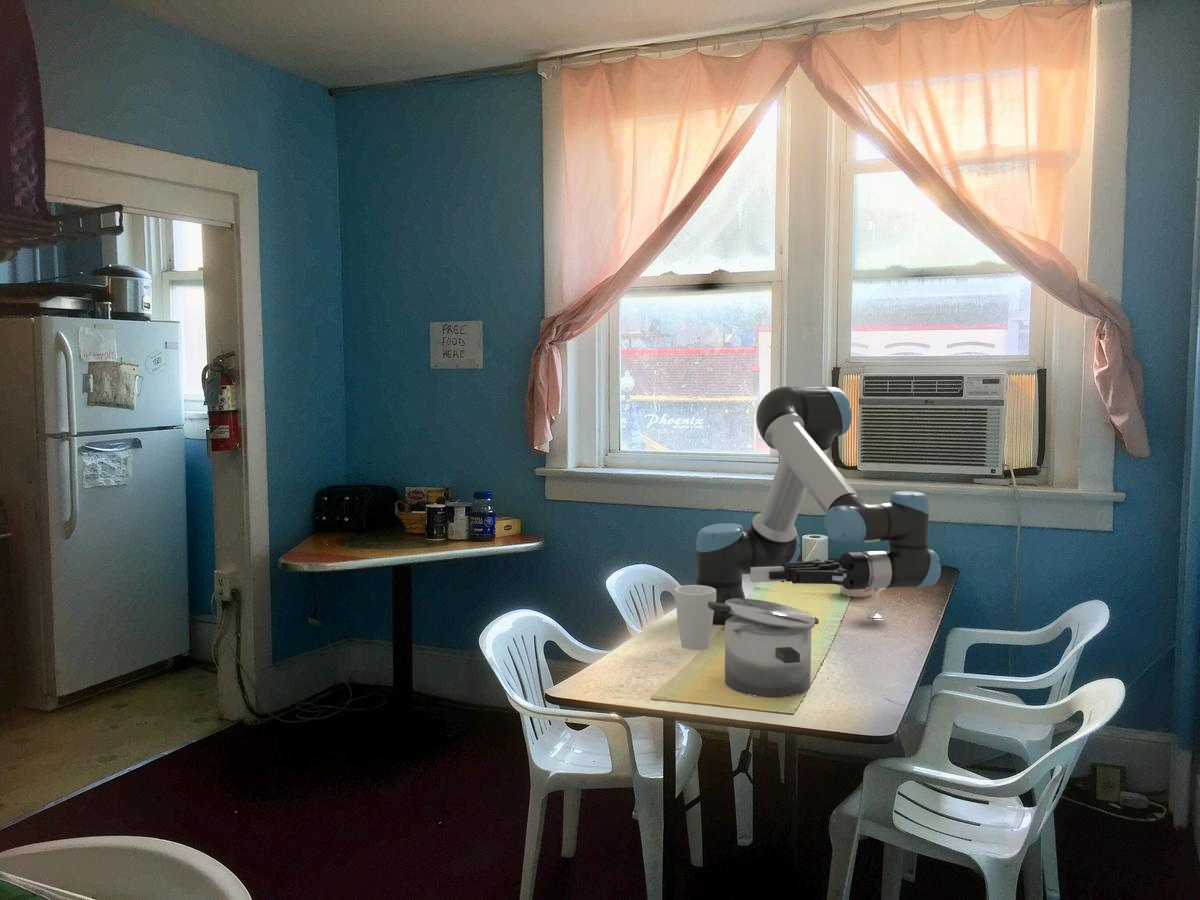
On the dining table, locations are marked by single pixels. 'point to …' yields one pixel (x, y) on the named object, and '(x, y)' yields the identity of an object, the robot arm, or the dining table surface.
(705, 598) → the foam cup
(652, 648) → the dining table surface
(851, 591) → the teacup with lid
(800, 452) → the robot arm
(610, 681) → the dining table surface
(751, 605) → the cooker lid
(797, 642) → the cooker pot
